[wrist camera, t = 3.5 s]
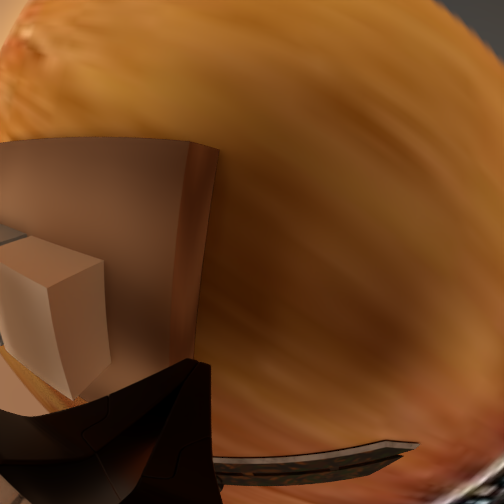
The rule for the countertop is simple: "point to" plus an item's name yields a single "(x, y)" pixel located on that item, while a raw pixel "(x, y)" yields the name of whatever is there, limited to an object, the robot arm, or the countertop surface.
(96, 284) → the cream block
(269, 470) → the knife
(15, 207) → the board
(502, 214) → the countertop surface
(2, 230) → the grey block
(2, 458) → the robot arm
